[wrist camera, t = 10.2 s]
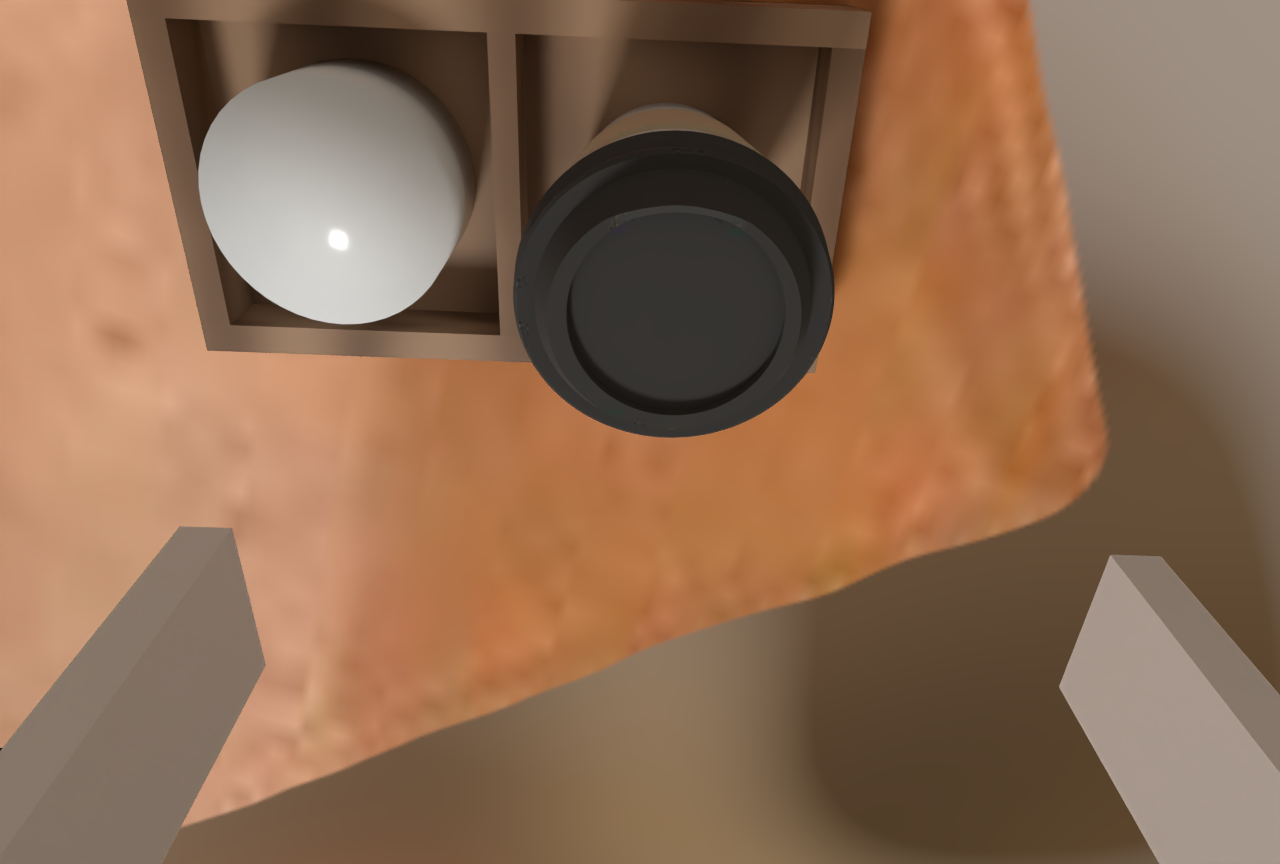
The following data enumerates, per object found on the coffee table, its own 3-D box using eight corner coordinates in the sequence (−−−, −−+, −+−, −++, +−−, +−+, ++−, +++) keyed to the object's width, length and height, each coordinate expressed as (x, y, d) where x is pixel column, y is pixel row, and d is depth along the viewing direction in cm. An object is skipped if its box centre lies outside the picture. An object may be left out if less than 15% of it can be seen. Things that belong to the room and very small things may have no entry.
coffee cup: (762, 295, 37) (823, 480, 24) (557, 288, 37) (508, 470, 24) (785, 74, 33) (876, 156, 20) (553, 66, 33) (491, 143, 20)
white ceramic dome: (275, 276, 37) (226, 319, 33) (234, 52, 33) (172, 68, 28) (481, 284, 37) (459, 328, 33) (468, 62, 33) (442, 79, 28)
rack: (240, 319, 39) (207, 350, 36) (170, -25, 32) (121, -22, 29) (801, 340, 40) (815, 373, 37) (850, 6, 33) (871, 11, 30)
